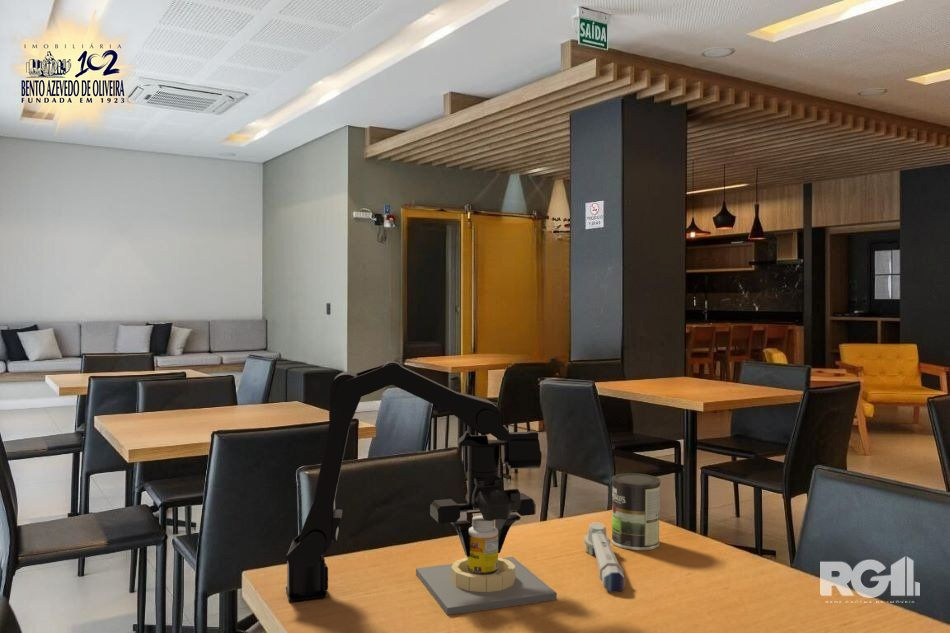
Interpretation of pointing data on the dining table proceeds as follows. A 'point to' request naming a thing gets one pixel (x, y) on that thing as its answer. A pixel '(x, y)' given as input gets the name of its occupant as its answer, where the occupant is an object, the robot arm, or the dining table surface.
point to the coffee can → (635, 511)
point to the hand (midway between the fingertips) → (482, 554)
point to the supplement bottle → (483, 547)
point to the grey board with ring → (483, 586)
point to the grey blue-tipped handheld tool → (604, 557)
